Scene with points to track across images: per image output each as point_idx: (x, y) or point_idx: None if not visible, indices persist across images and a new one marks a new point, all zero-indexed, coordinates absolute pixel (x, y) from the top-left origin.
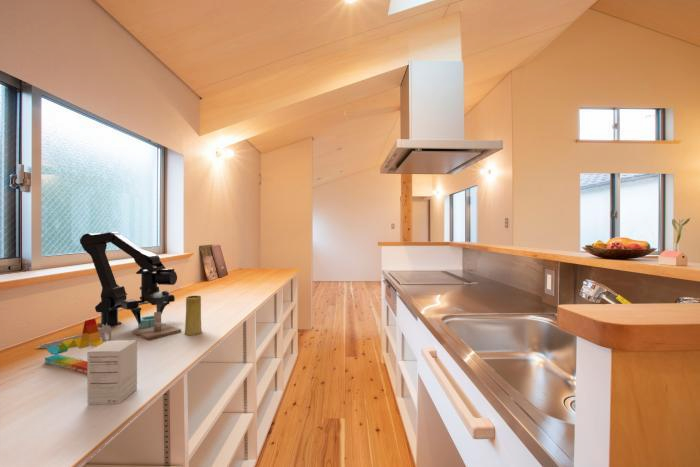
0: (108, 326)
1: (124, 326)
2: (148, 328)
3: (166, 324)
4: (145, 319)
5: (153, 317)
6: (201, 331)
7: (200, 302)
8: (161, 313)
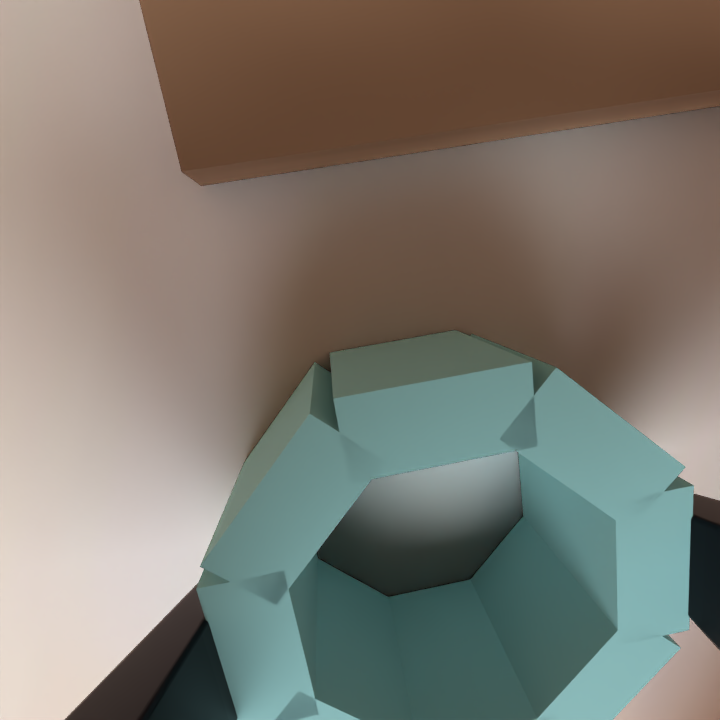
0: None
1: (686, 651)
2: (609, 40)
3: (167, 81)
4: (474, 669)
5: (324, 672)
6: None
7: None
8: (87, 707)
